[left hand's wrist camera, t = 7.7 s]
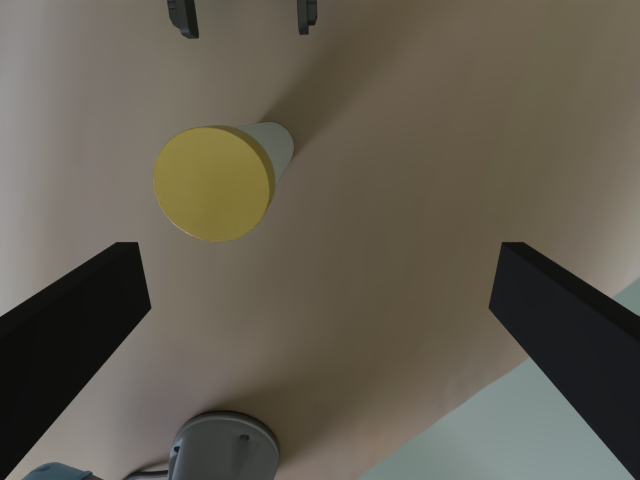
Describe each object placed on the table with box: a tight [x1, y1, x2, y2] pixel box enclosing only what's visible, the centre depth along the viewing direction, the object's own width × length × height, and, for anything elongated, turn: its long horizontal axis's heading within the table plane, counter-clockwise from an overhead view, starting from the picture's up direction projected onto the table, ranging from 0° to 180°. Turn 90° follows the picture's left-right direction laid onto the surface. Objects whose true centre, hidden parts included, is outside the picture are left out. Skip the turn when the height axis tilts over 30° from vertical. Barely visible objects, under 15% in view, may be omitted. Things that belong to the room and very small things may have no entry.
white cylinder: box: [234, 122, 294, 185], centre depth 25 cm, size 5×5×20 cm
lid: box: [153, 125, 275, 242], centre depth 17 cm, size 5×5×2 cm
